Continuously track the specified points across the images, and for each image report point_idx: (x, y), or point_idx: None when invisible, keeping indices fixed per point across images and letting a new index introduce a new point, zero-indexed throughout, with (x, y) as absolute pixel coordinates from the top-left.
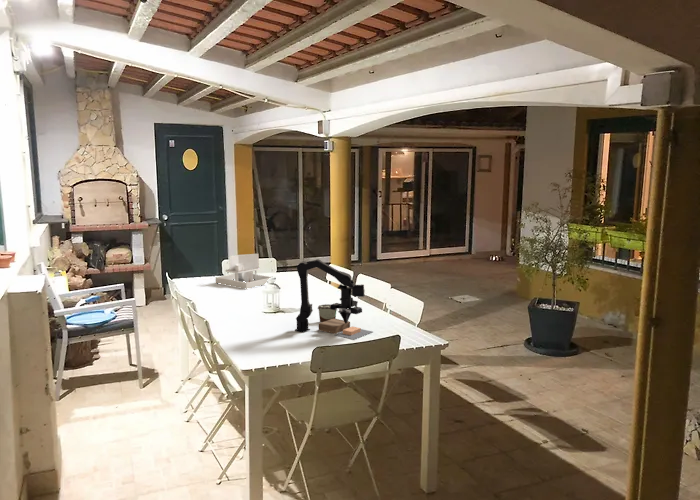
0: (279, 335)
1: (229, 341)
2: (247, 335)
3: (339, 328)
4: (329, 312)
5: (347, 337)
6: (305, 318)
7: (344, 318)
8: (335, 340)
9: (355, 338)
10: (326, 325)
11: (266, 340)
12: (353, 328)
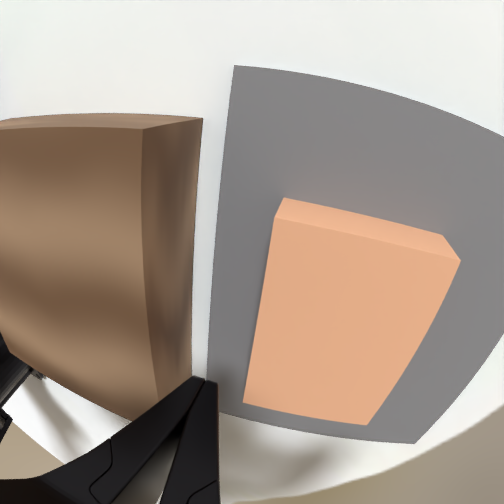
0: (38, 408)
1: (36, 439)
2: (8, 404)
3: (172, 361)
4: None
5: (349, 436)
6: (2, 435)
7: (165, 478)
8: (285, 467)
9: (421, 431)
10: (71, 388)
11: (67, 446)
12: (350, 318)
